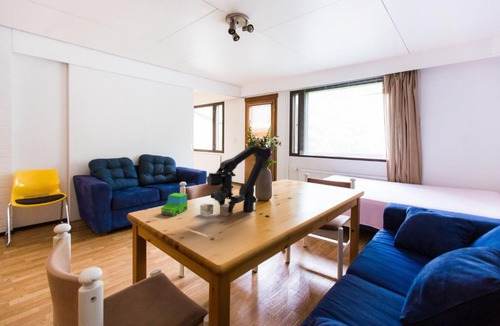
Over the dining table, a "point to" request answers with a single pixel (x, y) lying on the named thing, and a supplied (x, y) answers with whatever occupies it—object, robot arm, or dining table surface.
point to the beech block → (206, 209)
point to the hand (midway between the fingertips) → (226, 212)
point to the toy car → (175, 204)
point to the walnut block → (225, 210)
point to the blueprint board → (205, 215)
